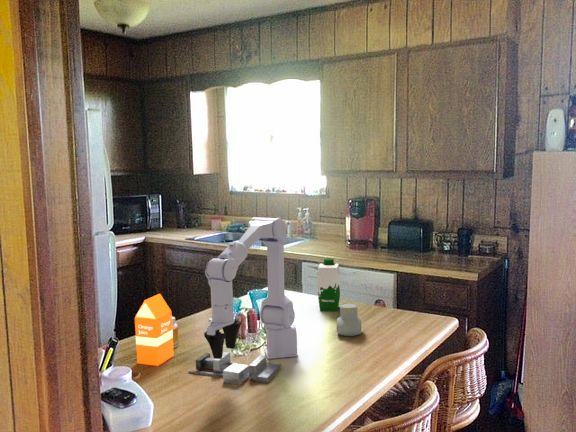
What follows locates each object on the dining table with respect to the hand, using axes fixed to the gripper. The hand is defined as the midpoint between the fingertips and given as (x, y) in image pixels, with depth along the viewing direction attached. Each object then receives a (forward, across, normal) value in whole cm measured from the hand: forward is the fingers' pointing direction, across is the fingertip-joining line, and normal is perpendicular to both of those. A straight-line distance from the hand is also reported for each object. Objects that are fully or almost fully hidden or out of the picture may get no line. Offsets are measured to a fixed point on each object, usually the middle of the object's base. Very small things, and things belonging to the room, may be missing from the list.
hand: (224, 353), depth 144 cm
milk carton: (+10, -81, +7) cm, 82 cm away
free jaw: (+10, -12, -10) cm, 18 cm away
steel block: (+10, -6, 0) cm, 12 cm away
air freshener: (+10, -52, +22) cm, 58 cm away
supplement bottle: (+10, -25, -33) cm, 43 cm away
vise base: (+10, -12, -3) cm, 15 cm away
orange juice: (+10, -14, -31) cm, 35 cm away
